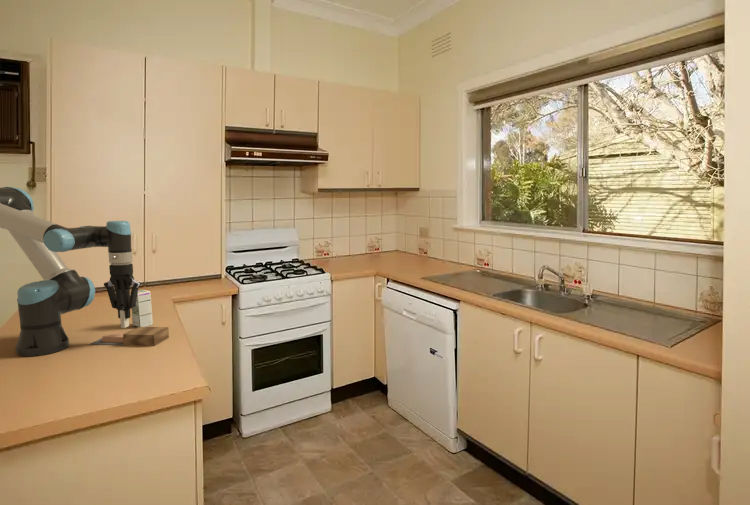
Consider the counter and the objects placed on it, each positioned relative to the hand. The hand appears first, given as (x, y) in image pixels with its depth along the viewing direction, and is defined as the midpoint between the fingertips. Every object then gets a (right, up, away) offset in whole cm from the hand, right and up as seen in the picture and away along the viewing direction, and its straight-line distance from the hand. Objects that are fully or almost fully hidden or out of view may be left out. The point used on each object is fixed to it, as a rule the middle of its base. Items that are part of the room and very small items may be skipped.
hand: (125, 326), depth 172 cm
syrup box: (-4, -3, +21) cm, 22 cm away
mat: (-4, -5, +1) cm, 7 cm away
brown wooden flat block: (+8, -5, 0) cm, 10 cm away
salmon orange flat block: (-3, -5, +1) cm, 6 cm away
